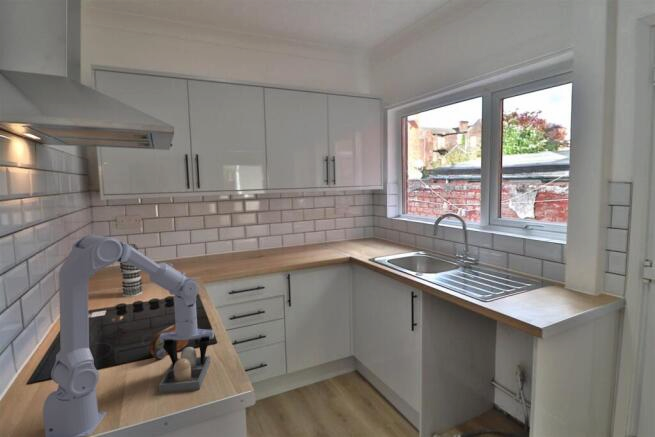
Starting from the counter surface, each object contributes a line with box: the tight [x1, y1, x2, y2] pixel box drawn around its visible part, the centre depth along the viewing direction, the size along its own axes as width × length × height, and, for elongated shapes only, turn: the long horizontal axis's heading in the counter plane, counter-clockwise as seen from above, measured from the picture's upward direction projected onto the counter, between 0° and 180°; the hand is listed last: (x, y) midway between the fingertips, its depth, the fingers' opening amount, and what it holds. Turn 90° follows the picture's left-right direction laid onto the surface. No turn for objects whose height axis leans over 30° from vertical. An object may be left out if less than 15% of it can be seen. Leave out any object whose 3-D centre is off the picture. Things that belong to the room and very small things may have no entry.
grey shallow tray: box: [158, 355, 211, 394], centre depth 100 cm, size 10×14×3 cm
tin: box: [149, 323, 191, 360], centre depth 115 cm, size 15×3×8 cm, turn 158°
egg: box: [180, 346, 198, 369], centre depth 103 cm, size 4×4×7 cm
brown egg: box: [174, 357, 192, 383], centre depth 96 cm, size 4×4×7 cm
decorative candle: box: [119, 243, 143, 298], centre depth 175 cm, size 9×9×25 cm
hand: (189, 363), depth 103 cm, fingers open, 7 cm apart
